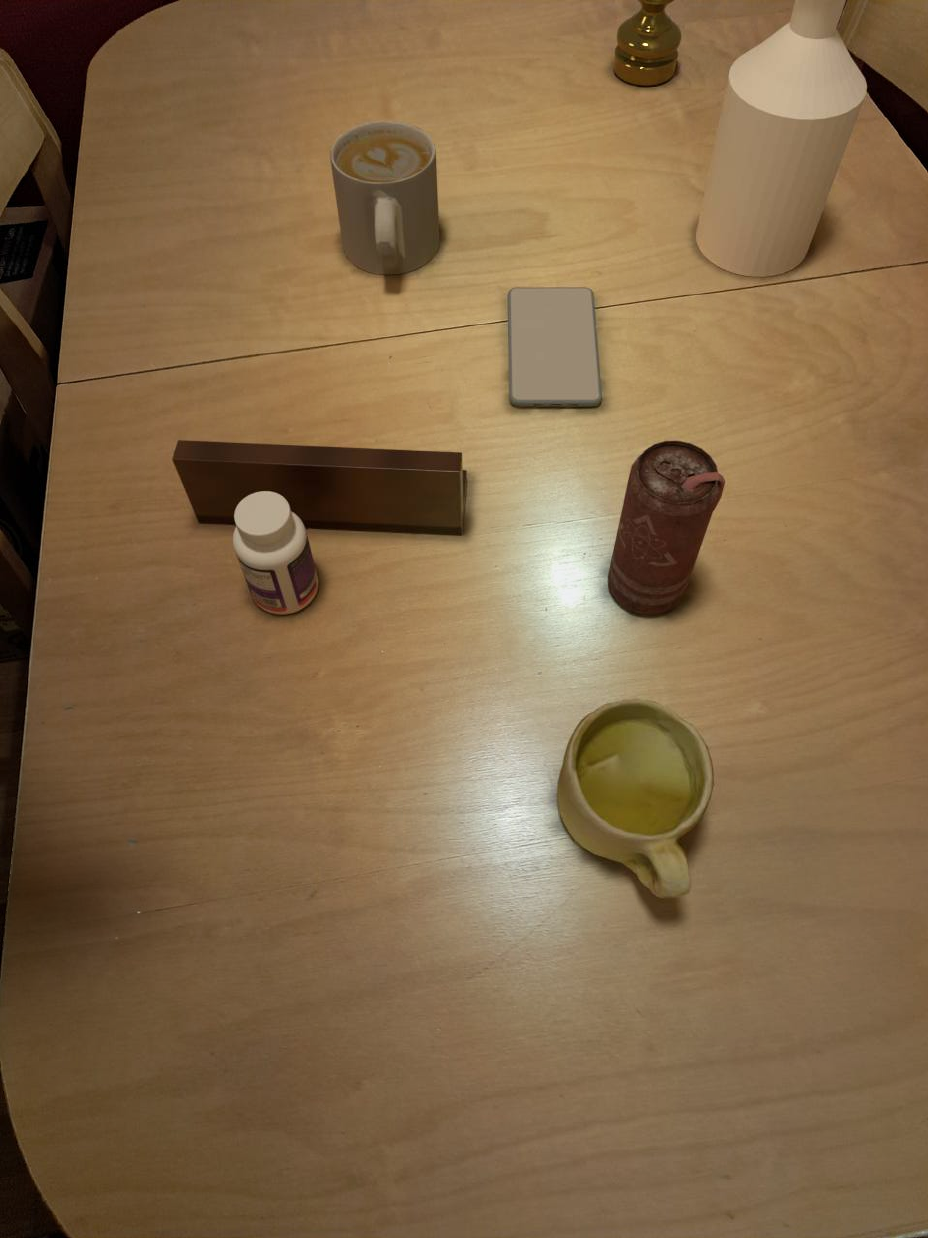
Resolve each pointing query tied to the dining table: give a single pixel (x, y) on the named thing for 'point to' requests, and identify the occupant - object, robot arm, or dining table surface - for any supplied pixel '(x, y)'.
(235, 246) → the dining table surface
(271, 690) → the dining table surface
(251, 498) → the pill bottle
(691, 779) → the mug
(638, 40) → the salt shaker
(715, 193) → the bottle
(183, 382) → the dining table surface
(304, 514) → the brown long rectangular block
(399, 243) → the coffee mug
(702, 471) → the can
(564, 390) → the smartphone
